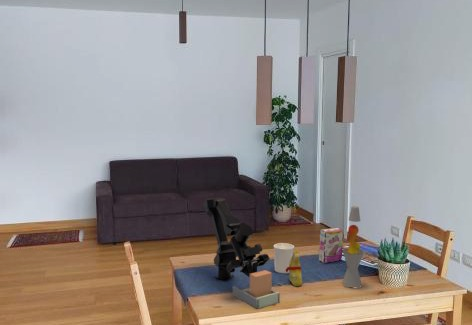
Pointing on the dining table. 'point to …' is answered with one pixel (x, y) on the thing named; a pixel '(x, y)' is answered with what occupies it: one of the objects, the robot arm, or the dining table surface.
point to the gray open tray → (256, 302)
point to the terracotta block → (260, 283)
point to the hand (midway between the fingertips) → (256, 281)
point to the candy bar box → (330, 245)
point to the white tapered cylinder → (282, 256)
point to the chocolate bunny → (295, 269)
